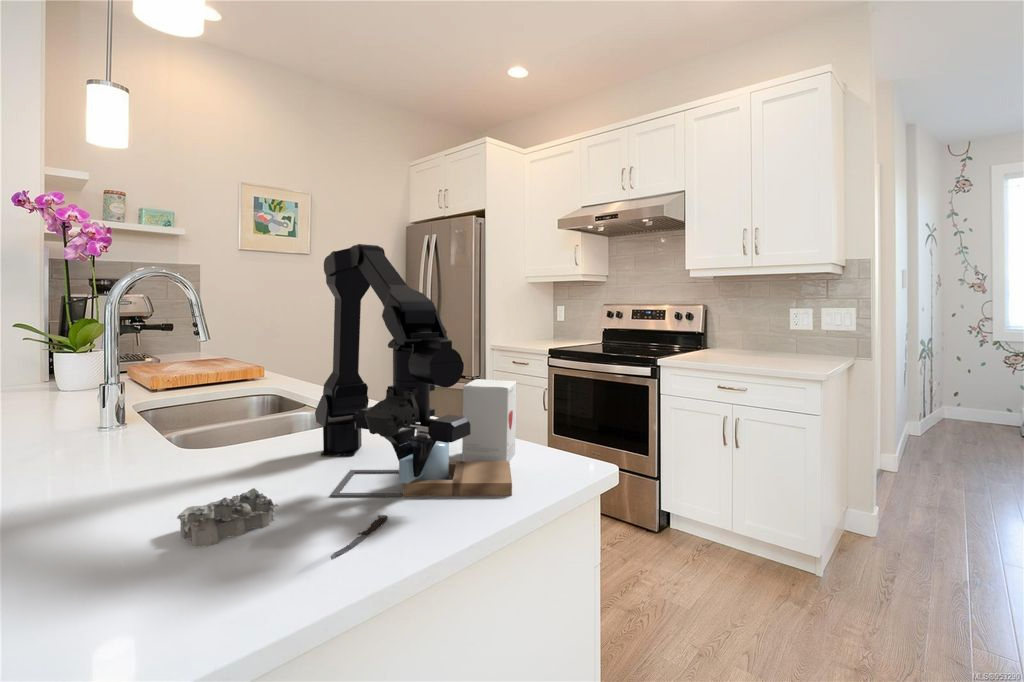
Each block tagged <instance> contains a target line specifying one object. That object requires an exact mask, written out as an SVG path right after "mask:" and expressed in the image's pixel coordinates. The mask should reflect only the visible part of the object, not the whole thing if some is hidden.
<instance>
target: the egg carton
mask: <svg viewBox="0 0 1024 682" xmlns="http://www.w3.org/2000/svg"><path fill="white" fill-rule="evenodd" d="M276 507H278V508H279V505H278V503H273V500H272V499H271V498H268V497H267V496H266V495H264V493H263V492H261V493H260V492H259V490H257V489H256V488H255V487H253V488H250V489H249V490H247V491H246V492H242V493H241V494H240V495H238V494H236V495H232V497H231V498H228V497H226V496H225V497H223V498H221V499H220V500H216V501H212V502H209V503H207V504H203V505H191V506H189V507H187V508H185V509H184V510H183V511H181V512H180V513H179V514H178V515H177V516H176V520H179V522H180V537H181V539H182V540H184V541H185V540H188V539H189V540H190V539H191V545H192V546H193V548H198V547H212V546H215V545H218V544H219V541H220V540H222V539H224V538H229V536H230V537H235V538H238V537H240V536H242V535H245V534H246V531H249V530H250V529H255V528H262V529H264V528H267V527H269V526H270V525H271V524H270V523H272V522H273V521H274V520H275V519H274V508H276Z"/></svg>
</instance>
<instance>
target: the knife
mask: <svg viewBox="0 0 1024 682" xmlns="http://www.w3.org/2000/svg"><path fill="white" fill-rule="evenodd" d="M387 518H389V517H388V515H387V514H379V515H377V519H375V520H374V521H372V523H371V524H370V526H369V527H368V528H366V530H363V531H362V532H358V533H357V535H359V536H357V537H355V539H354V540H352V541H351V542H350V543H348V544H349V545H348V544H346V545H345V546H346V547H345V546H344V547H342V548H341V549H339V550H337V551H336V552H333V554H332V555H330V560H331V561H333V560H335V559H337V558H339V557H340V556H342V555H344V554H346V553H348V552H349V550H350V551H352V550H354V548H356V547H357V546H358V545H359V544H361V543H362V542H363V541H364V540H366V539H367V538H368V537H370V535H371V534H373V533H374V532H376V531H377V530H378V529H380V528H381V527H382V526H383V525H384V524H385V523H386V521H387V520H388V519H387ZM381 525H382V526H381ZM366 537H367V538H366Z"/></svg>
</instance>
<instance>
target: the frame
mask: <svg viewBox="0 0 1024 682" xmlns="http://www.w3.org/2000/svg"><path fill="white" fill-rule="evenodd" d="M354 473H355V474H399V469H350V470H349V471H348V472H347V474H346V475H345V476H344V478H343V479H342V480H341V481H340V482H339V484H338V485H337V486H336V487H335V488H334V489H333V491H331V493H330V495H329V498H401V497H402V496H403V492H342V490H343V489H344V488H345V487H344V486H347V484H348V483H349V482H350V480H351V479H352V478H353V476H355V474H354ZM351 477H352V478H351ZM340 491H341V492H340Z"/></svg>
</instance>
